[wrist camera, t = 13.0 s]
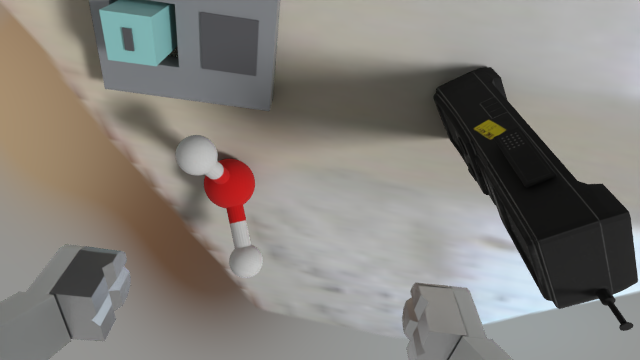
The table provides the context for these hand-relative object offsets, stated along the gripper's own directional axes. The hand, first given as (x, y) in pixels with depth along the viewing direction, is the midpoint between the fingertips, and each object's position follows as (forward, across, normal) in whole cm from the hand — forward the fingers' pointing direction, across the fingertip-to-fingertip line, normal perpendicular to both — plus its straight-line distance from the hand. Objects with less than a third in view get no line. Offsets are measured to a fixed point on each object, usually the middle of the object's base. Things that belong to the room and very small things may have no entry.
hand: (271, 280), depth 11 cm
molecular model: (+31, +7, +18) cm, 37 cm away
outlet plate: (+31, +11, +2) cm, 33 cm away
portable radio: (+31, -17, +6) cm, 36 cm away
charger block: (+31, +14, +2) cm, 34 cm away
